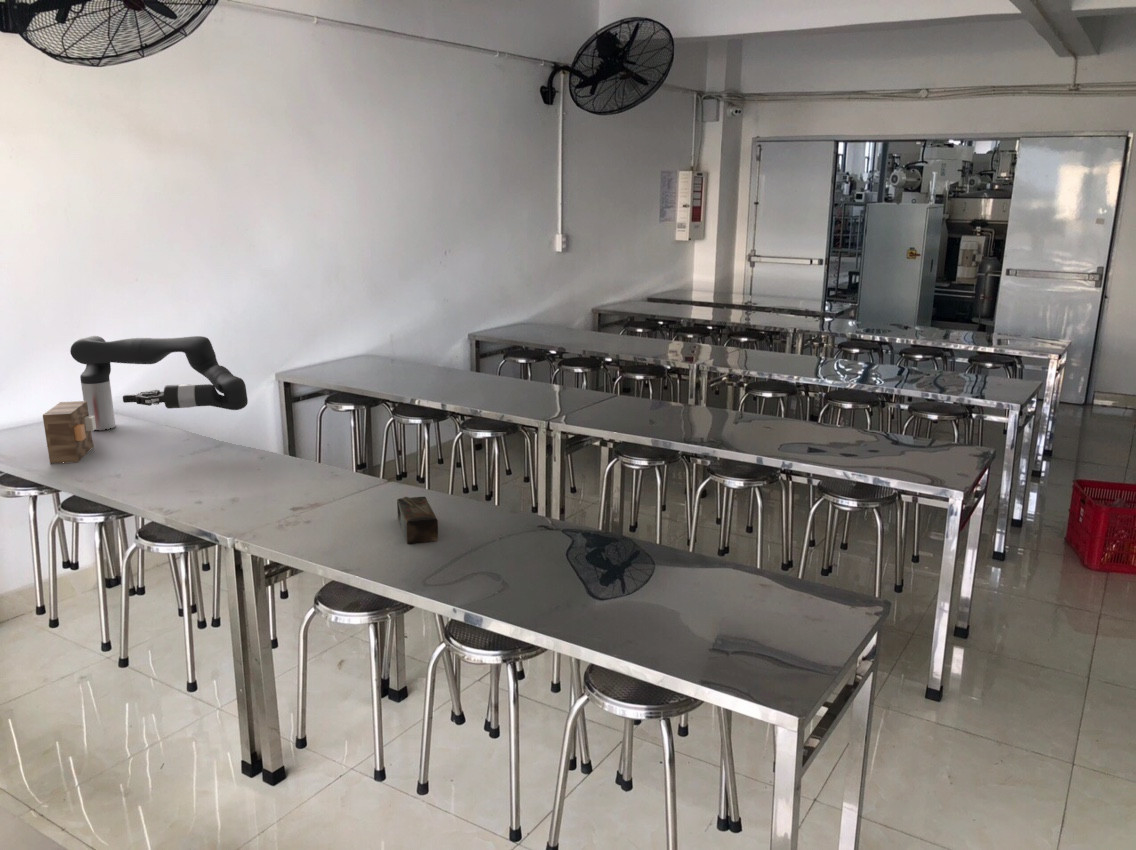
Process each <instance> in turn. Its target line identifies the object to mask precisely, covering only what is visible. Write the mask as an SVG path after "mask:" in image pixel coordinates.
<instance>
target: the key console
mask: <svg viewBox="0 0 1136 850" xmlns="http://www.w3.org/2000/svg"><path fill="white" fill-rule="evenodd" d="M85 416H89V412H88V405H87V401H84V400H82V401H80V400H79V401H60V402H58V403H57V404H56V405H54V406H53V407H52V408H50V409H49V410H48V411H46V412H45V413H43V414H42V419H43V426H44V434H45V440H46V445H47V446H46V447H47V452H48V453H47V454H48V459H49V464H50V463H61V464H67V463H66V462H78V461H79V460H80V459H81V458H82V457H83V456H84V455H85V454H86V453H87V452H88V451H89V450H90V449H91V448H92V447H93V448H94V444H93V443H94V442H93V435H92V431H86V426H85V419H84V417H85ZM81 424H84V427H85V434H86V438H85V439H84V440H83V441H75V434H74V426H75V425H81ZM93 448H92V449H93ZM92 449H91V450H92ZM91 450H90V451H91ZM90 451H89V452H90ZM89 452H88V453H89ZM88 453H87V454H88ZM87 454H86V455H87ZM86 455H85V456H86ZM85 456H84V457H85ZM84 457H83V458H84ZM83 458H82V459H83ZM82 459H81V460H82ZM81 460H80V461H81ZM80 461H79V462H80ZM63 462H64V463H63ZM79 462H78V463H79Z"/></svg>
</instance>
